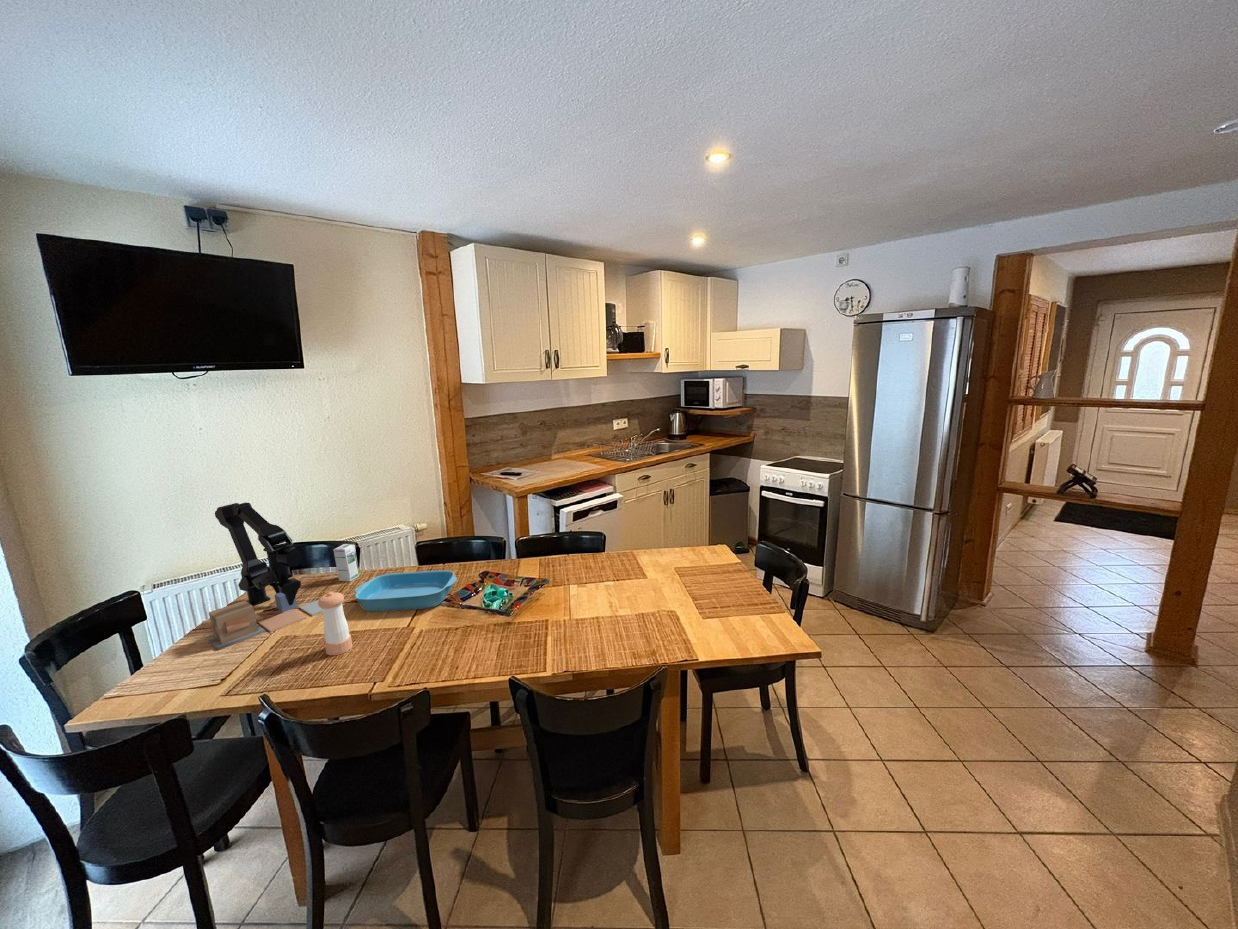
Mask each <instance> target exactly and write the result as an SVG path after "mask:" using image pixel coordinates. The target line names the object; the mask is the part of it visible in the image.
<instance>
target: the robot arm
mask: <svg viewBox="0 0 1238 929" xmlns="http://www.w3.org/2000/svg"><path fill="white" fill-rule="evenodd" d="M252 506H253V505H252V504H251V503H250V502H243V503H239V502H234V503H229V504H226V505H222V506H219V507H217V508H216V510H215V511H214V517H215V519H216V520H218V522H219V524H220V525H221V526H222V527H224V528H225V529H227V530H228V532H229V534H230V538H231V539H232V541H233V543H234V544H233V545H234V546H235V549H236V551H237V553H238V556H239V559H240V561H241V563H242V567H241V569H240V575H241V578H240V581H239V582H238V584H237V586H238V588H239V590H240V591H244V592H246V594H247V598H248V599H247V600H245V601H246V602H248V603H249V604H251V605H252V606H253V607H254V606H256V605H258V604H261V603H265V602H267V601H270V600H271V597H270V596H268V595H267V591H266V587H268V586H270V587H272V588H273V590H274V592H275V594H277V593H280V592H281V593H283V594H285V597H286V599H287V602H288V604H289V605H293V602H294V599H295V597H296V598H297V593H298V592H299V589H300V588H301V587H302V582H301V580H299V579H297V578H295V577H293V574H292V573H291V571H290V568H291V567H293V568H294V567H297V566H299V565H300V564H301V563H303V559H304V555H303V553H302V552H301V551H300V550H297V549H296V547H295V544H294V542H293V541H294V540H293V539H292V538H291V537H290V536H289V534H288V533H287V531H286V530H285V529H283V528H282V527H281V526H279V525H278V524H273V523H270V522H269V521H267V520H266V519H265V518H264V517H263V515H261V514H260V513H259V512H257V511H256V510H255V508H253V507H252ZM244 523H245V524H246V525H247V526H249V528H251V529H252V530H253V531H254V532H255V533H256V534H257V540H258V542H259V543H260V545H261V546H262V547H264V548H263V549H262V551H263V552H266V554H267V555H266V556H267V560H268V565H267V562H266V561H262V560H260V559H258V556H257V553H256V551H255V549H254V546H253V545H252V541H251V539H250V536H249V534H248V531H247V530H246V527H245V524H244Z"/></svg>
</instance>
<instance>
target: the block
mask: <svg viewBox="0 0 1238 929" xmlns="http://www.w3.org/2000/svg"><path fill="white" fill-rule="evenodd" d="M274 599H275V605H276V610H278V611H279V612H280V613H284V612H287V611H290V610H292V609H294V610H295V609H296V608H298V602H297V596H296V597H295V599H294V602H293V605H289V604H288V602H287V599H286V597H285V594H283V593H281V592H280V593H277V594H276V593H275V594H274Z"/></svg>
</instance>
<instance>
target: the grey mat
mask: <svg viewBox="0 0 1238 929" xmlns="http://www.w3.org/2000/svg"><path fill="white" fill-rule="evenodd" d="M318 601H319V599H316V600H314V601H311V602H309V603H305V604H304V605H300V606H299V609H300V610H302V611H303V612H305V613H306V614H308V615H310V616H312V617H313V616H316V615H319V614H323V611H322V608H320V607H319V605H318ZM342 605H344V601H343V603H342Z"/></svg>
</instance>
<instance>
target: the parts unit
mask: <svg viewBox="0 0 1238 929" xmlns="http://www.w3.org/2000/svg"><path fill="white" fill-rule="evenodd" d="M208 616H209V620H210V621H209V622H210V624H211V628H212V633H213V635H211V636H209V637H207V641H208V642H209V643H210V644H211V645H212V646H213V647H214V648H215V649H216V650H218V651H220V650H222V649H226V648H228V647H230V646H233V645H235V644H238V643H241V642H243V641H247V640H249V639H251V638H253V637H256V636H259V635H261V634H264V633H265V632H266V629H265V628H264V627H263V626H262V627H261V626H260V624H259V623H257V620H256V614H255V610H254V605H253V606H252V605H251V604H249V603H248V602H246V600H245V599H243V600H241V601H239V602H236V603H233V604H230V605H226V606H224V607H221V608H217V609H215V610H212V611H209V612H208Z"/></svg>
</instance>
